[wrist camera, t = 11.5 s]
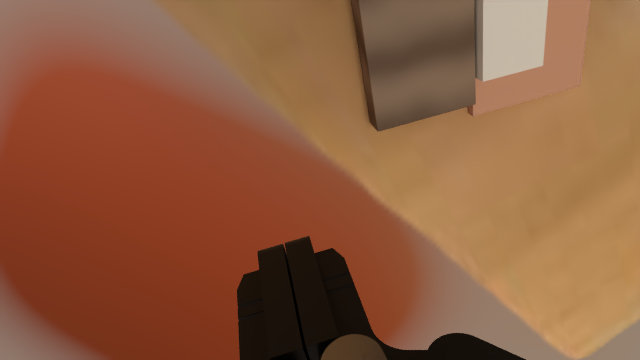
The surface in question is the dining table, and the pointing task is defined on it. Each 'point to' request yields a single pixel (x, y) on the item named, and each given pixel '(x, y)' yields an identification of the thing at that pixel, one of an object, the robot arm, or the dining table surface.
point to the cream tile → (508, 36)
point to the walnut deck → (415, 58)
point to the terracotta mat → (558, 65)
